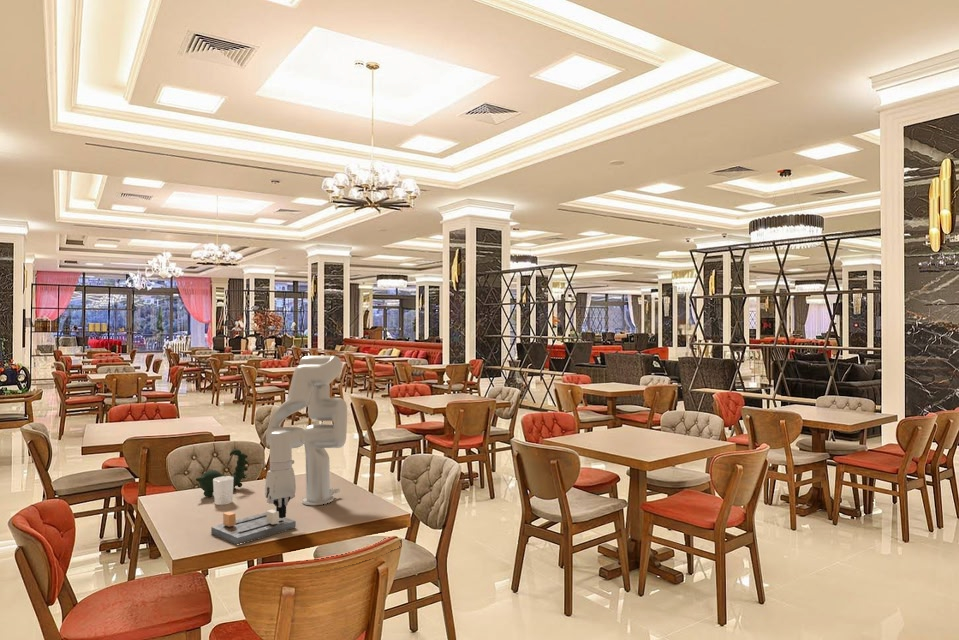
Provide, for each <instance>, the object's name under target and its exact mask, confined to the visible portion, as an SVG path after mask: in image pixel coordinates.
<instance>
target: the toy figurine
mask: <svg viewBox="0 0 959 640" xmlns="http://www.w3.org/2000/svg"><path fill="white" fill-rule="evenodd" d="M232 455H236V456H237V460H236V466H235V469H234V470H235V471H234V472H233V474H232V475H230V476H231V477H234V480H233V493H234V492H235V491H236V487H237V488H242V486H243V482H242V481H241V480H242V479H247V477H248V476H247V474H245V472H246V471H248V470H249V469H248V467H246V465H247V464H248V463H249V462H248V461H247V460H246V459H248V457H249V456H248V455H246V453H243V452H242V451H241V450H240V449H237V448H235V449H232V450H231V451H230V453H229V456H230V457H231V456H232ZM223 476H226V475H224V474H223V473H221V472H220V471H218V470H217V469H209V470H206V471H205V472H203V473H202V475H201V476H200V477H197V478H195V481H197V482H198V484H199V488H200V489H201V490H203V491H204V492H203V496H204V497H206V498H211V497H213V496H214V490H213V479H214V478H217V477H223Z"/></svg>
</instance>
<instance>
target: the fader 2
mask: <svg viewBox="0 0 959 640" xmlns="http://www.w3.org/2000/svg"><path fill="white" fill-rule="evenodd" d="M266 512H267V523H270V524H271V525H273V524H276V523H279V511H276V510H275V509H273V508H272V509H270V510H266ZM266 512H265V513H266Z"/></svg>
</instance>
